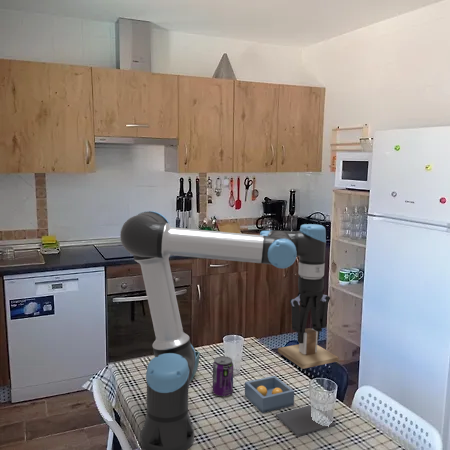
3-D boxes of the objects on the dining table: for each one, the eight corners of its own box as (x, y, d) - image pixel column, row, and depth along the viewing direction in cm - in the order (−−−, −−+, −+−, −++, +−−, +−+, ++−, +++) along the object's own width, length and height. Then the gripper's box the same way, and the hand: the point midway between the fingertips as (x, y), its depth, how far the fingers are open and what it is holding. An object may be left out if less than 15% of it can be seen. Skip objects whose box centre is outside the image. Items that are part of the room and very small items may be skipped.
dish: (262, 413, 143) (262, 398, 143) (244, 395, 154) (245, 382, 153) (293, 405, 149) (294, 391, 148) (274, 389, 159) (274, 375, 159)
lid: (302, 368, 128) (303, 341, 127) (277, 351, 140) (278, 326, 139) (338, 361, 134) (339, 334, 133) (312, 345, 146) (313, 320, 145)
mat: (297, 436, 131) (297, 434, 131) (275, 415, 142) (275, 414, 142) (335, 425, 137) (335, 423, 137) (311, 406, 148) (311, 404, 148)
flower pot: (170, 383, 162) (170, 359, 161) (177, 372, 171) (177, 349, 170) (194, 385, 161) (194, 361, 160) (199, 374, 169) (200, 351, 168)
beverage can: (230, 399, 152) (231, 365, 150) (210, 396, 153) (210, 363, 152) (234, 389, 159) (235, 356, 157) (214, 386, 160) (215, 354, 159)
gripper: (295, 281, 127) (292, 361, 130) (341, 276, 134) (337, 351, 137) (281, 275, 134) (278, 351, 137) (325, 271, 141) (321, 343, 144)
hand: (307, 351), depth 137 cm, fingers closed on lid, 3 cm apart
